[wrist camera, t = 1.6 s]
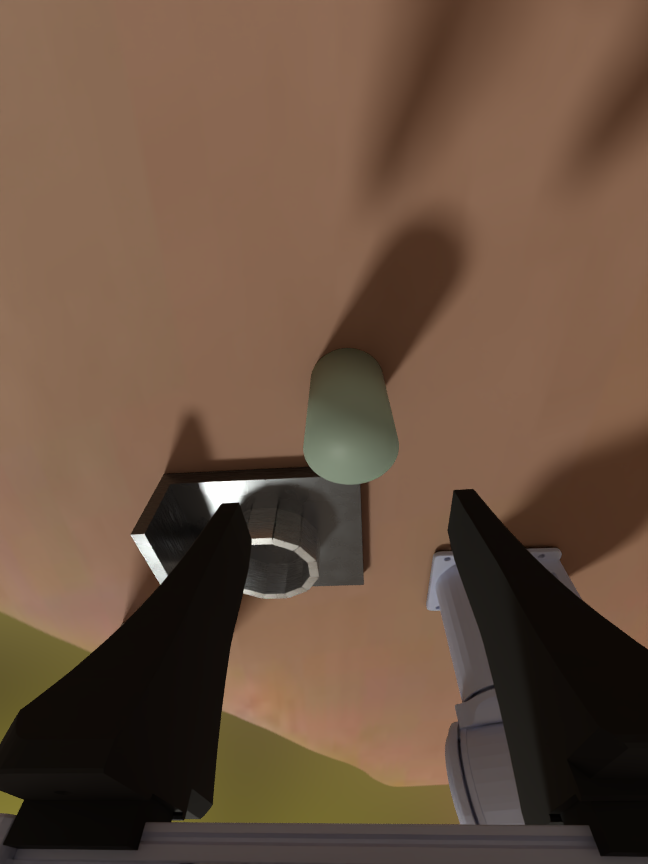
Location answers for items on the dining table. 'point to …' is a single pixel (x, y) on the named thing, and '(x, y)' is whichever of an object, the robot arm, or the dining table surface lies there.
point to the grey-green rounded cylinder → (349, 419)
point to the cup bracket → (261, 526)
